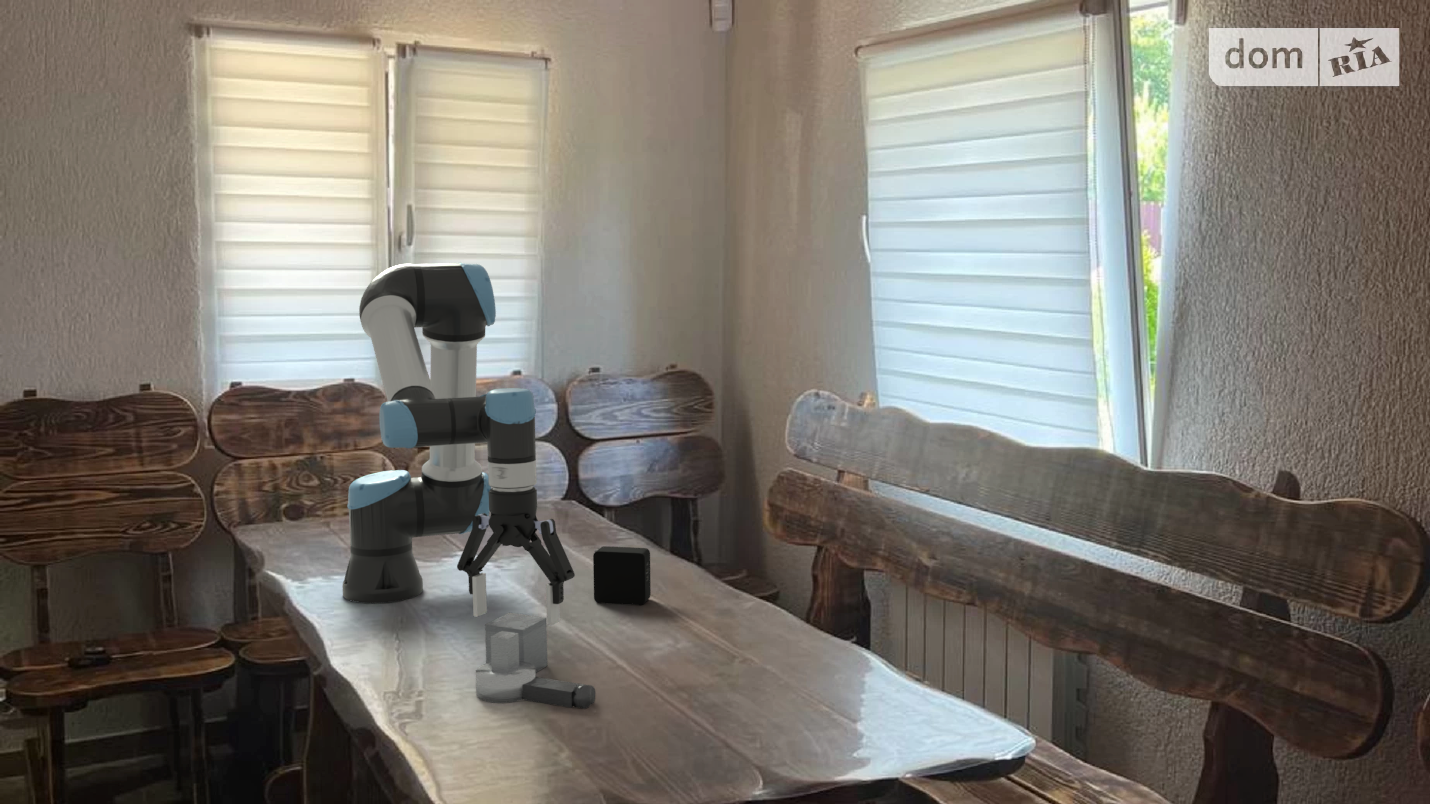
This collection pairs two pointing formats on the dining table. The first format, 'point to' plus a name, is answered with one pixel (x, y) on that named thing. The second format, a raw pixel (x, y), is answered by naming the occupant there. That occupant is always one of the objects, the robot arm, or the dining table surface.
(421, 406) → the robot arm
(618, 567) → the electronic device
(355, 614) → the dining table surface
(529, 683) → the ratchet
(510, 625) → the dark grey cube
